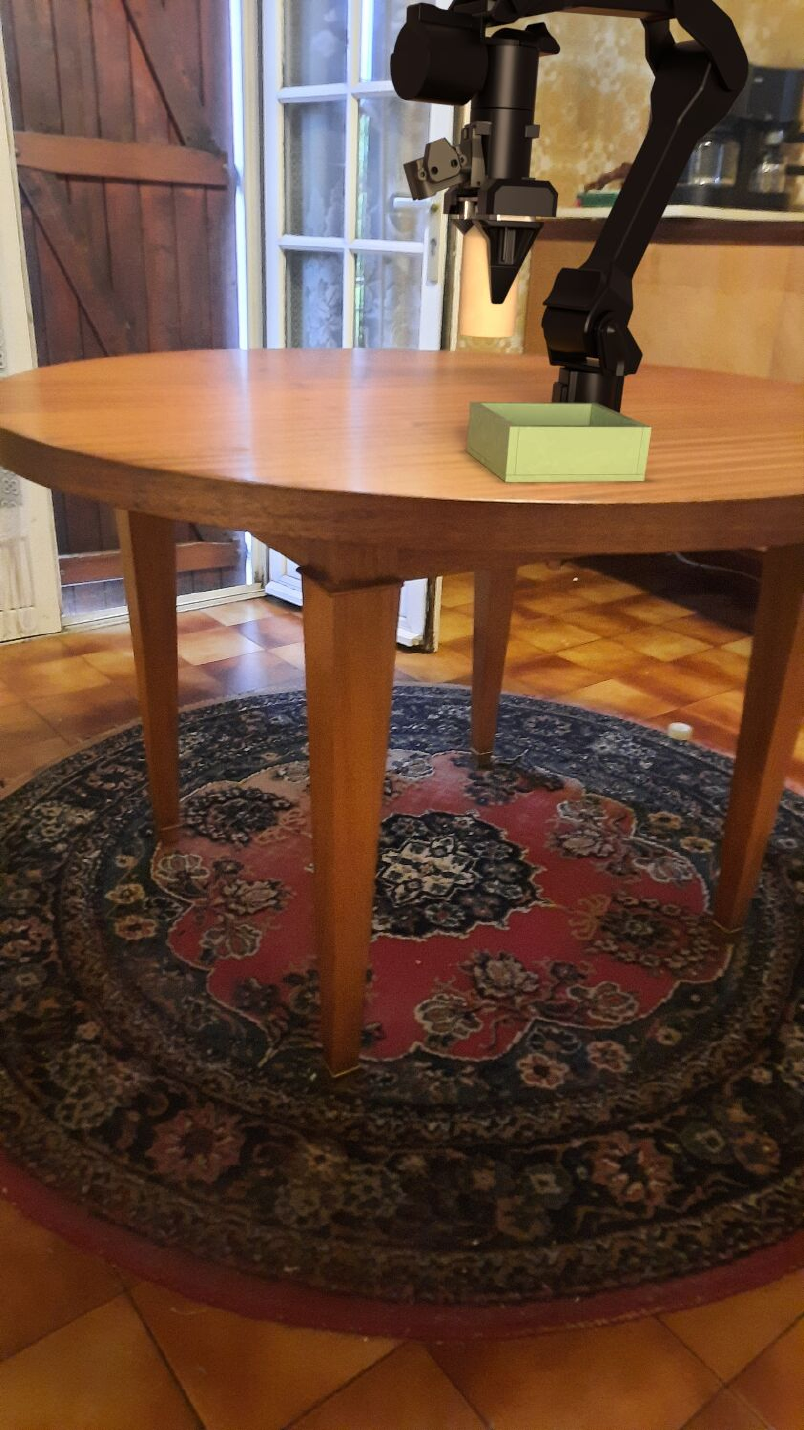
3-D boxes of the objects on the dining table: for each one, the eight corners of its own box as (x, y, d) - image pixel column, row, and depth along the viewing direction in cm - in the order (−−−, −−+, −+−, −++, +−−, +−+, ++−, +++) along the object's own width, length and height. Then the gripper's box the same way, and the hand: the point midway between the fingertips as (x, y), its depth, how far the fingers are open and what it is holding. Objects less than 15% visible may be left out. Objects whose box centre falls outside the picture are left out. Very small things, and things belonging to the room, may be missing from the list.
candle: (475, 338, 95) (482, 219, 90) (447, 332, 99) (453, 218, 95) (525, 338, 97) (535, 221, 93) (496, 332, 101) (504, 220, 97)
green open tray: (591, 451, 99) (596, 402, 97) (644, 481, 88) (652, 427, 86) (466, 451, 97) (469, 401, 95) (505, 482, 86) (510, 426, 84)
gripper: (395, 115, 97) (390, 292, 104) (433, 95, 80) (424, 307, 87) (508, 122, 99) (496, 295, 106) (568, 104, 82) (549, 311, 89)
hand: (489, 301), depth 97 cm, fingers closed on candle, 5 cm apart
